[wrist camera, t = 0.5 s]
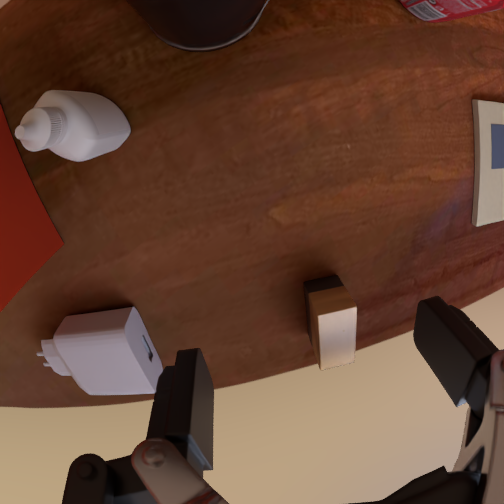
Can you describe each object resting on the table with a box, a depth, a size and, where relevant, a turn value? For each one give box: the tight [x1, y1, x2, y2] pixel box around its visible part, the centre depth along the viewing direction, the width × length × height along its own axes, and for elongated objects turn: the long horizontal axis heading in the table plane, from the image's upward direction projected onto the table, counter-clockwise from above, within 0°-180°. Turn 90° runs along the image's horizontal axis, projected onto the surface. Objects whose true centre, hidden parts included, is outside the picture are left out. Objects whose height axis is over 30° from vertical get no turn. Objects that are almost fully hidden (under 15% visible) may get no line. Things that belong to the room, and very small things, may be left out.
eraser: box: [304, 275, 357, 371], centre depth 29 cm, size 7×4×6 cm, turn 10°
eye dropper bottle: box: [15, 90, 131, 162], centre depth 16 cm, size 4×6×12 cm
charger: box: [37, 307, 163, 395], centre depth 29 cm, size 5×9×15 cm
